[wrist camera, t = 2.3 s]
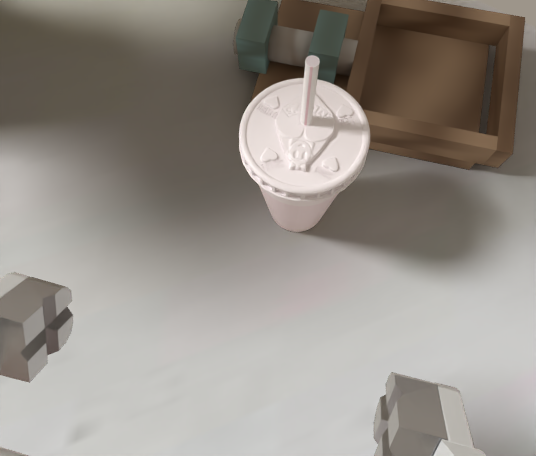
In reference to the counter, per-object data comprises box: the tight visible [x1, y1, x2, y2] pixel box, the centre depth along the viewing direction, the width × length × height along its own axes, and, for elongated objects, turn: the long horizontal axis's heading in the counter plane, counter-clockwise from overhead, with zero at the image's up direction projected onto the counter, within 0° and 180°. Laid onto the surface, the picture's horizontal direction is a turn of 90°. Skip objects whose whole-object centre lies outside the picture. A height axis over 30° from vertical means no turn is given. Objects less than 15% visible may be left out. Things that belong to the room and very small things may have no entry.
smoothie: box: [239, 55, 370, 232], centre depth 24 cm, size 6×6×14 cm
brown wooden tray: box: [233, 0, 525, 170], centre depth 31 cm, size 20×11×4 cm, turn 76°
